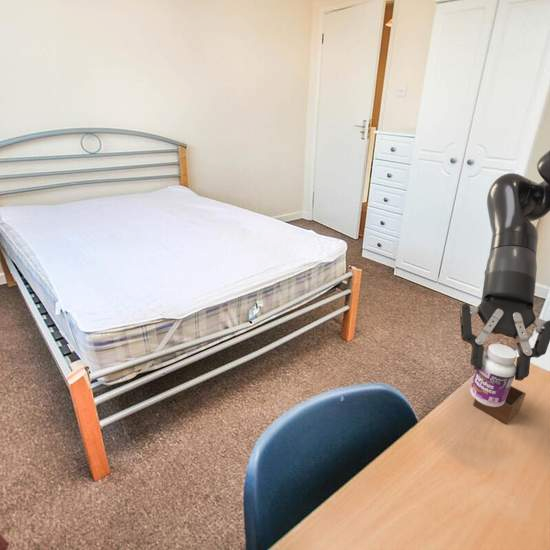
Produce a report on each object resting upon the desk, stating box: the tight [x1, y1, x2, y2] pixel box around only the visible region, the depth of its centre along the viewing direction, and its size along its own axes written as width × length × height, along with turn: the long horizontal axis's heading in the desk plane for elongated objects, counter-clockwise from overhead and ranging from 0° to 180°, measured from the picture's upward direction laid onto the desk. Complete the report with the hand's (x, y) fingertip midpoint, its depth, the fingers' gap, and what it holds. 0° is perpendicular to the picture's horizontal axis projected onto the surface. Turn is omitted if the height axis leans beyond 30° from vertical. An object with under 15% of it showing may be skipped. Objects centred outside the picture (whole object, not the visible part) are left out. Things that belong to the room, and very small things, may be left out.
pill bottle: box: [469, 343, 518, 407], centre depth 63 cm, size 5×5×10 cm
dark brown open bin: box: [472, 385, 527, 425], centre depth 81 cm, size 7×7×5 cm
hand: (498, 374), depth 61 cm, fingers closed on pill bottle, 5 cm apart
